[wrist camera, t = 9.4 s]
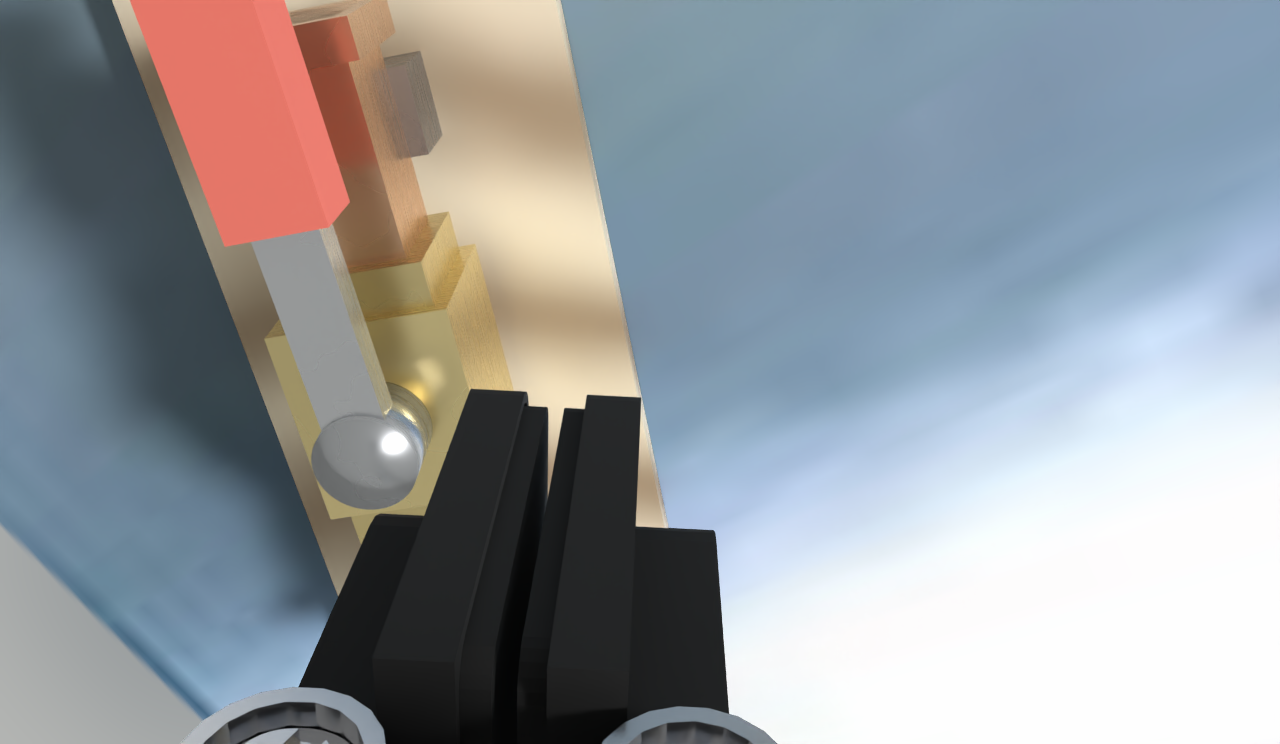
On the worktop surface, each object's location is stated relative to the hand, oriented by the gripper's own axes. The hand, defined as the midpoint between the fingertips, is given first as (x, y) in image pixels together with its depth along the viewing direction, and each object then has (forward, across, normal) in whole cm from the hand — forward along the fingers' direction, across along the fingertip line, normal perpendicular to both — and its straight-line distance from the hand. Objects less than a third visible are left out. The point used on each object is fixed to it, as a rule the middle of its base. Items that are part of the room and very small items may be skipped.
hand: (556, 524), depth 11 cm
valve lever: (+16, +7, +2) cm, 17 cm away
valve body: (+22, +6, +8) cm, 24 cm away
